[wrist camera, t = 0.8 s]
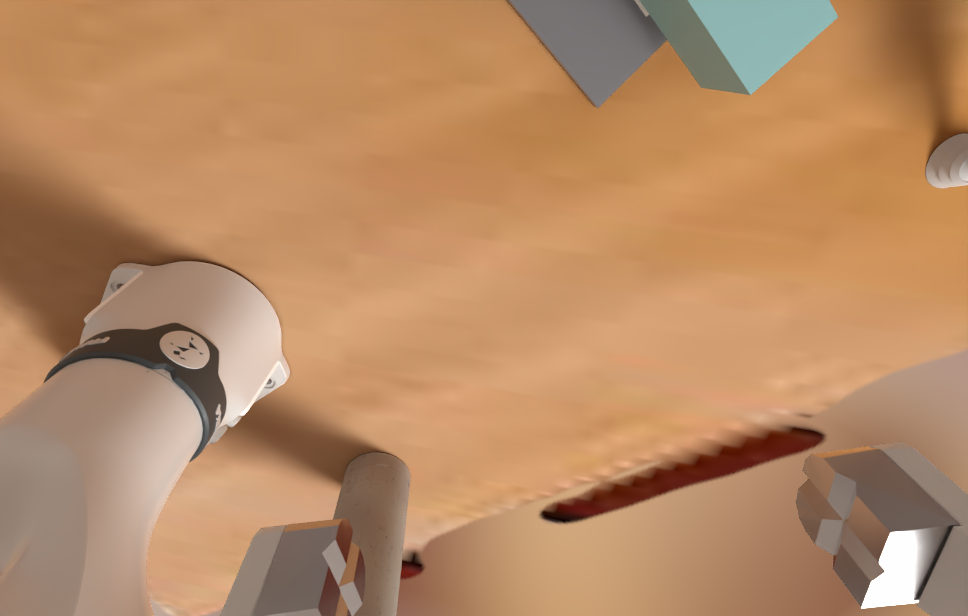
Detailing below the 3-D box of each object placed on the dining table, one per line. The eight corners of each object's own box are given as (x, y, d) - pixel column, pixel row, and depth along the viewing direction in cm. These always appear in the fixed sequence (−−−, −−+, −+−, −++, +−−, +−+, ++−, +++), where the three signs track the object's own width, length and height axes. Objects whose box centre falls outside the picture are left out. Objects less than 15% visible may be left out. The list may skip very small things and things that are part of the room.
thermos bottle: (400, 503, 63) (366, 796, 38) (339, 491, 62) (261, 787, 37) (418, 459, 60) (392, 749, 35) (353, 445, 58) (278, 738, 33)
